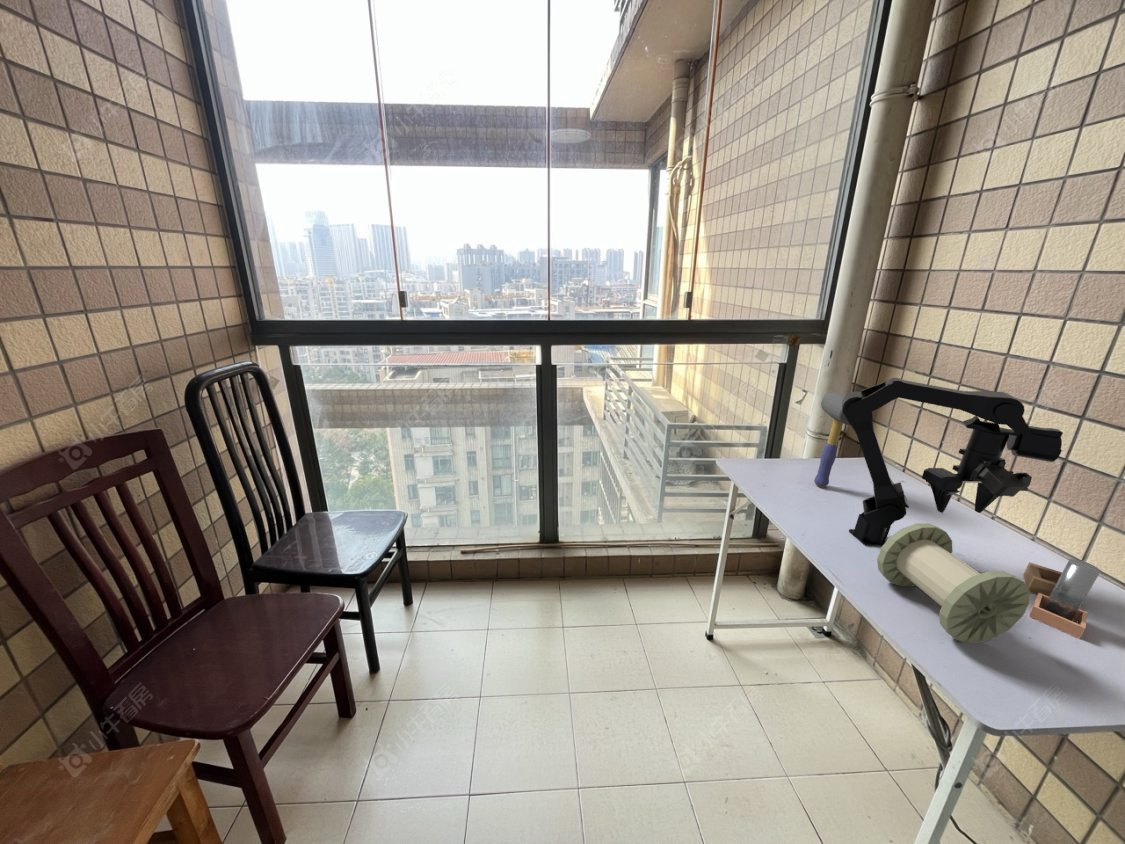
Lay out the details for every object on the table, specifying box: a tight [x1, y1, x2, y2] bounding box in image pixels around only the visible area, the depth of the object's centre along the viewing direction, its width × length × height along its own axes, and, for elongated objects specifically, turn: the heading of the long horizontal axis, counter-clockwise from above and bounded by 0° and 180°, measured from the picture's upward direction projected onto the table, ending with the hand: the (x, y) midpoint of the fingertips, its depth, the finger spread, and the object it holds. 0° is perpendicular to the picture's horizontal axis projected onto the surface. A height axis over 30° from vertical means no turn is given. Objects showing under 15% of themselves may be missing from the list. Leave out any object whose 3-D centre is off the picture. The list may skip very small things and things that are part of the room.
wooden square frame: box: [1022, 561, 1063, 597], centre depth 93 cm, size 7×7×4 cm
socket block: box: [1028, 593, 1089, 639], centre depth 85 cm, size 7×7×2 cm
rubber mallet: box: [813, 391, 850, 488], centre depth 132 cm, size 12×8×30 cm, turn 174°
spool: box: [876, 522, 1031, 644], centre depth 85 cm, size 16×15×15 cm
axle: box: [1042, 558, 1102, 622], centre depth 84 cm, size 4×4×13 cm
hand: (958, 511), depth 99 cm, fingers open, 9 cm apart
